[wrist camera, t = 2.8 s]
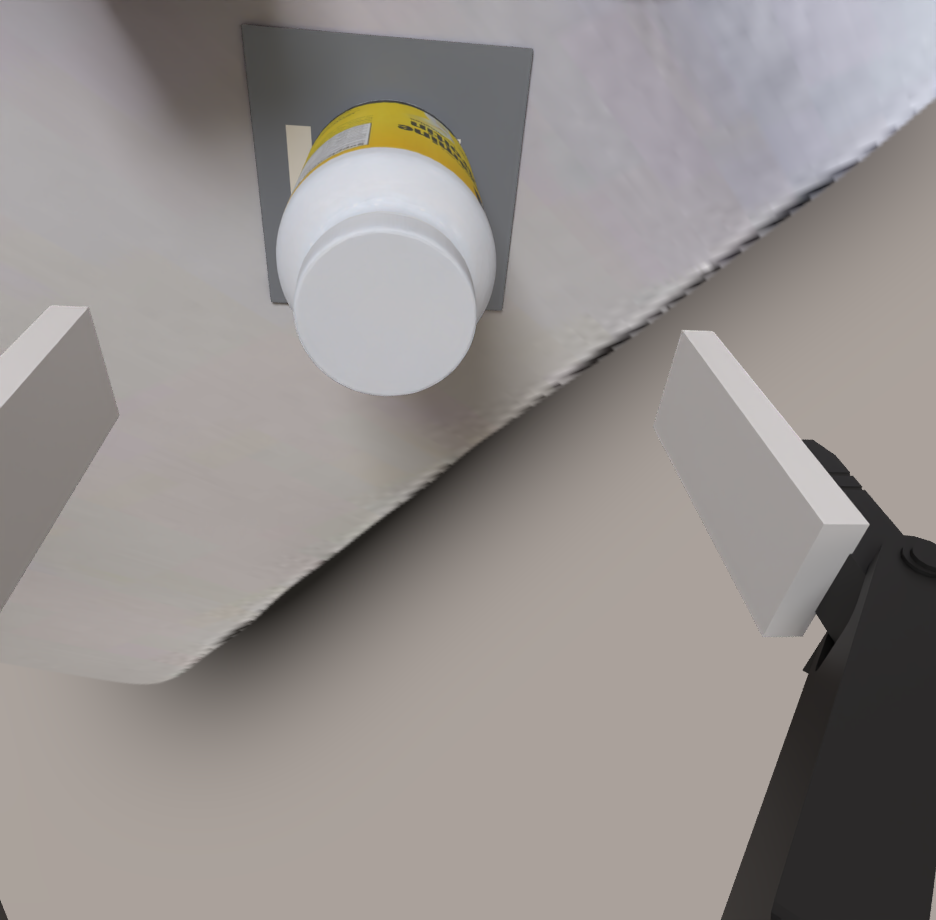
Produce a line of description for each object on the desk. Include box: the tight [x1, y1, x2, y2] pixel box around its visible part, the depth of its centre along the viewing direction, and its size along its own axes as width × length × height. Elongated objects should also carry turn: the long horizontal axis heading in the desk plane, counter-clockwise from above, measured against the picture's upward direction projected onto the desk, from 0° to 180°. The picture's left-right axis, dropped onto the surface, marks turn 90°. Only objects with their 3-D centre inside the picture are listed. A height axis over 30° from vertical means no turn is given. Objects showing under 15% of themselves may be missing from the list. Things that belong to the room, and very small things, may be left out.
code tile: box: [241, 24, 533, 310], centre depth 26 cm, size 10×10×1 cm
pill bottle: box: [276, 100, 496, 396], centre depth 21 cm, size 6×6×12 cm
